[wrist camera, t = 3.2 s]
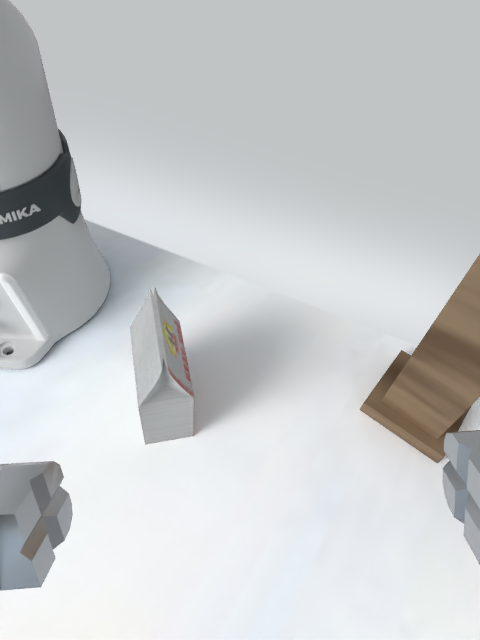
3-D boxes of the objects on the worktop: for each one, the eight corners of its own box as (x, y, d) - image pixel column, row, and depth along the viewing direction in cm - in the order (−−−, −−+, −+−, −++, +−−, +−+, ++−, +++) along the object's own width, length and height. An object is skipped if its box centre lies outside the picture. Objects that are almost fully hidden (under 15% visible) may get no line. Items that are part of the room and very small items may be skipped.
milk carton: (145, 444, 35) (132, 374, 27) (137, 370, 39) (123, 290, 31) (193, 436, 35) (194, 365, 28) (180, 363, 39) (178, 284, 32)
